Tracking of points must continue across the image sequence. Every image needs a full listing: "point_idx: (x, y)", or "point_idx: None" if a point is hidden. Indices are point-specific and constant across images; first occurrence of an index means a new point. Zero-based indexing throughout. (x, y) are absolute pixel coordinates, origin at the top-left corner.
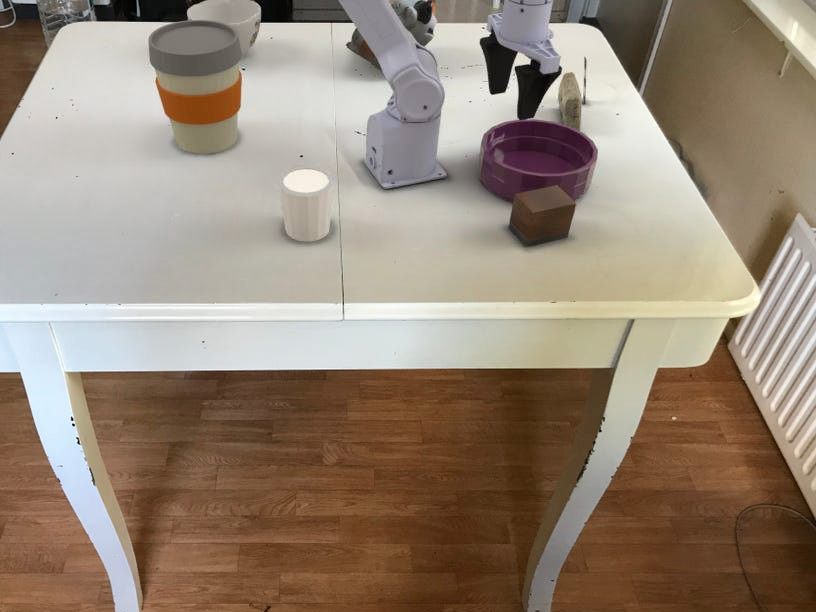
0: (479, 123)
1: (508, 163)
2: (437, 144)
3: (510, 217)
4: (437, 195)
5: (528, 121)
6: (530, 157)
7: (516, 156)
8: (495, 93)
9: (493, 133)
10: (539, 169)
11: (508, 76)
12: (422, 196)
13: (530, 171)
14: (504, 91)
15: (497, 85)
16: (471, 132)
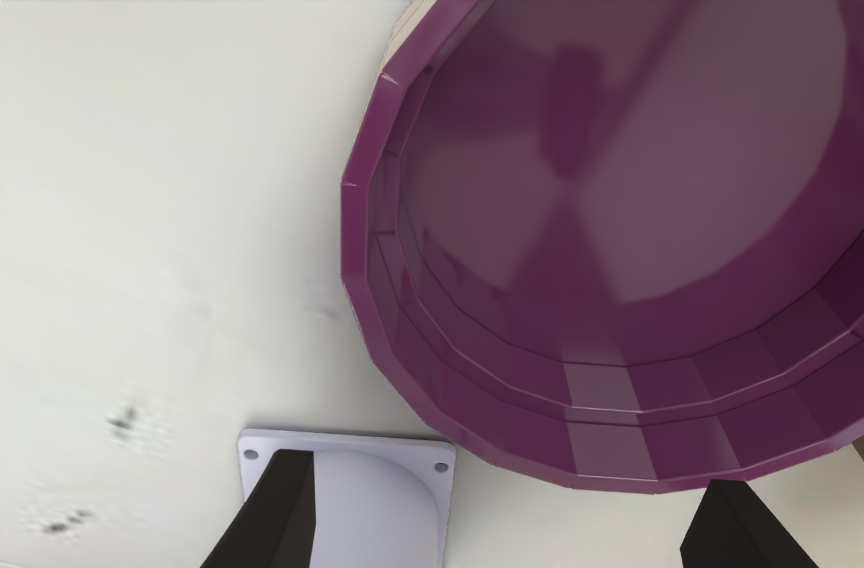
0: (19, 98)
1: (500, 230)
2: (400, 562)
3: (861, 455)
4: (534, 498)
5: (387, 137)
6: (502, 98)
7: (460, 159)
8: (313, 510)
9: (401, 347)
10: (629, 129)
11: (280, 554)
12: (516, 529)
13: (616, 178)
14: (309, 461)
15: (300, 557)
16: (116, 187)
